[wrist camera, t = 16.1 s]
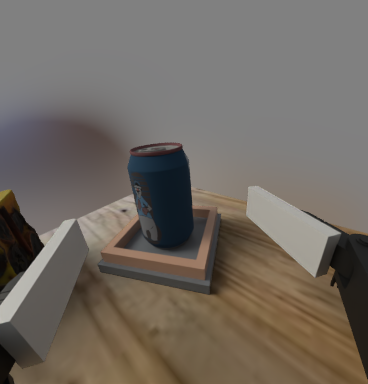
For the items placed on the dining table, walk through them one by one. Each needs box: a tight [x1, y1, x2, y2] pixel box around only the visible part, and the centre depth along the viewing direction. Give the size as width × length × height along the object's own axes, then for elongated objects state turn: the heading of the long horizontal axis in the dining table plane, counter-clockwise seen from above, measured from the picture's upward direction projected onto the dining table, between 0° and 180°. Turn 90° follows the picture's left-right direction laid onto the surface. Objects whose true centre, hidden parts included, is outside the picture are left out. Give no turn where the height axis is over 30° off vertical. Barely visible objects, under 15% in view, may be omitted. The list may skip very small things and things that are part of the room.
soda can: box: [128, 143, 194, 249], centre depth 21 cm, size 7×7×12 cm
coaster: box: [98, 205, 221, 295], centre depth 23 cm, size 13×13×3 cm
